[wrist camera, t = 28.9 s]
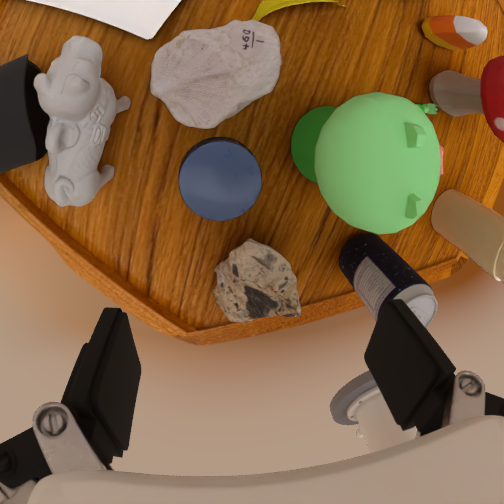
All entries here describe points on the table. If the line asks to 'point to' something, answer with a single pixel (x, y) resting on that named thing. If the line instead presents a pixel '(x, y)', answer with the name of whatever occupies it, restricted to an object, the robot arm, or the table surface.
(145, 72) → the table surface
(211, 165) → the lid
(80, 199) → the dog figurine
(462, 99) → the decorative mushroom
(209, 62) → the fossil
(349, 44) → the table surface
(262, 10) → the decorative leaf
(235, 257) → the rock
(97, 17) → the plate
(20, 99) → the pen holder
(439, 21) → the candy corn
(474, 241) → the lidded jar
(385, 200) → the toy character
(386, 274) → the beverage can
